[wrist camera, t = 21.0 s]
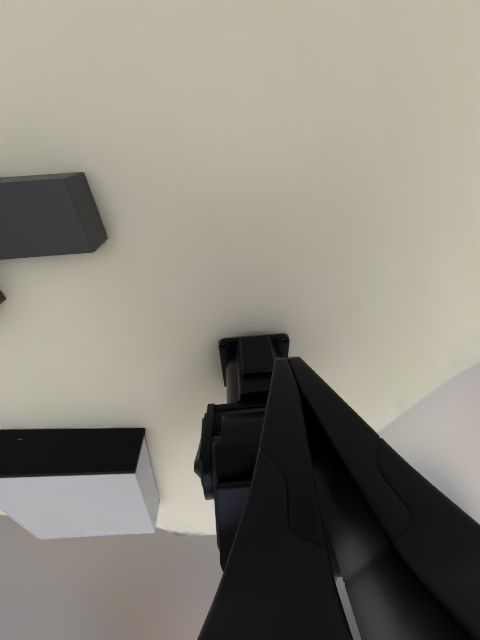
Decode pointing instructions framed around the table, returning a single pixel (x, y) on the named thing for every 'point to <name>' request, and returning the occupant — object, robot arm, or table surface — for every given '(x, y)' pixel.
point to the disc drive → (78, 482)
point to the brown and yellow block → (2, 297)
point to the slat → (48, 216)
